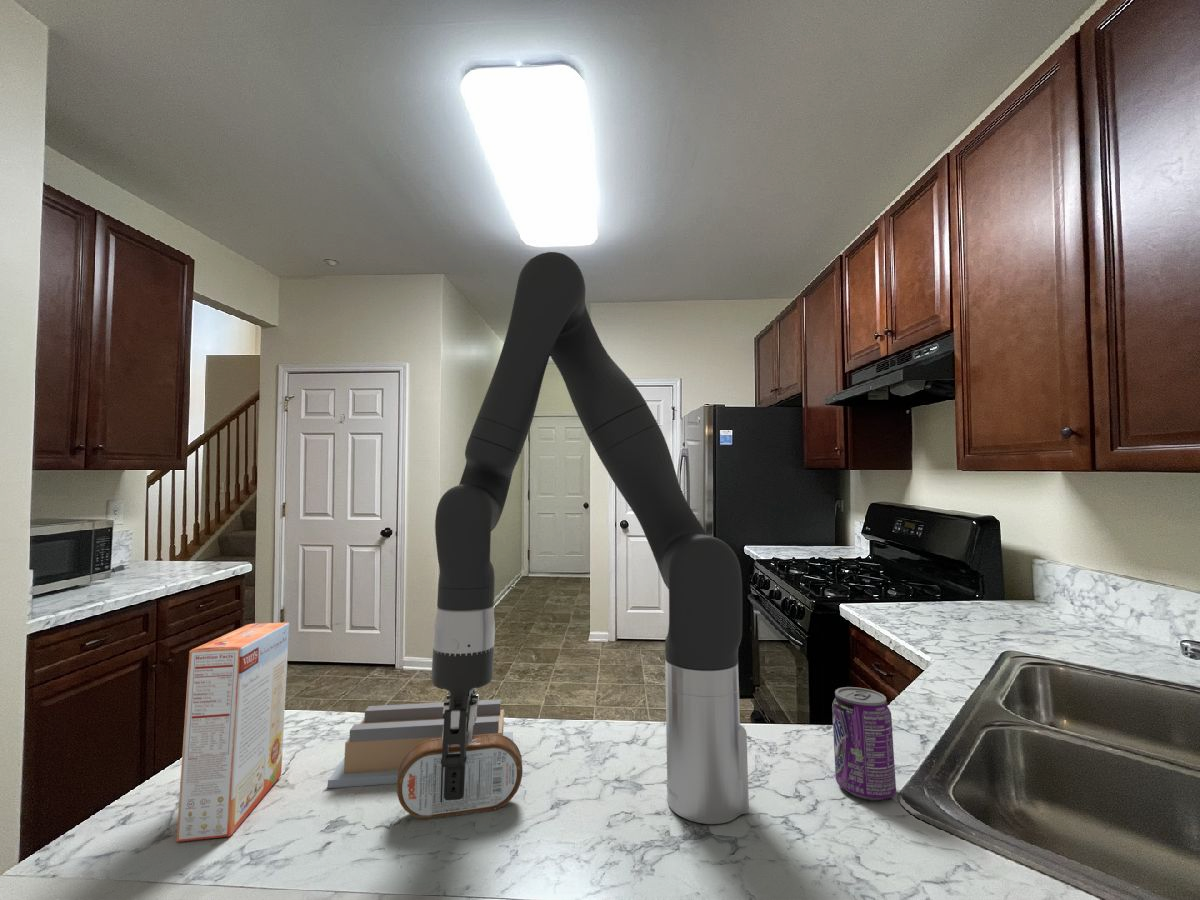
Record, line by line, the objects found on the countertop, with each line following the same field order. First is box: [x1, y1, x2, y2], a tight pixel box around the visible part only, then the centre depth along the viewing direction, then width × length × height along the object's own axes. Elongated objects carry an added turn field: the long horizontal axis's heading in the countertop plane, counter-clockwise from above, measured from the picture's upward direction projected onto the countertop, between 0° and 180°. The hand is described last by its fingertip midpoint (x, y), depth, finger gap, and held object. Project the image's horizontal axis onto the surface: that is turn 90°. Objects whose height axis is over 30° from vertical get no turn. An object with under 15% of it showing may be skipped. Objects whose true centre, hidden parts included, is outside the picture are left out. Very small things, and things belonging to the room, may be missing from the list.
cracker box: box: [176, 622, 290, 843], centre depth 66 cm, size 14×6×21 cm, turn 10°
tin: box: [396, 734, 523, 820], centre depth 65 cm, size 15×3×8 cm, turn 104°
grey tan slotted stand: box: [327, 699, 514, 789], centre depth 77 cm, size 24×12×7 cm, turn 98°
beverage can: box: [831, 686, 897, 801], centre depth 69 cm, size 7×7×12 cm
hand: (458, 779), depth 64 cm, fingers open, 8 cm apart
